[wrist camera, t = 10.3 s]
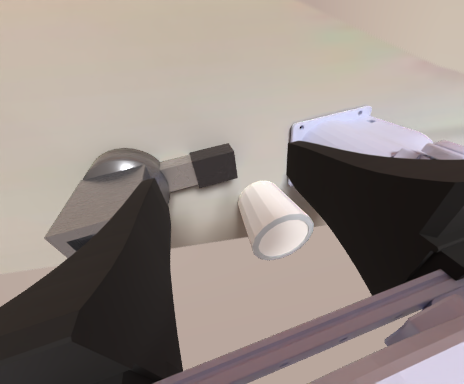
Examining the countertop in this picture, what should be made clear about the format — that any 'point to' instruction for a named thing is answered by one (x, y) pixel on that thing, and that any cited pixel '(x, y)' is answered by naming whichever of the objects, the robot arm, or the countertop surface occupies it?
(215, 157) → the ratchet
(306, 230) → the shot glass
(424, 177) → the robot arm
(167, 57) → the countertop surface
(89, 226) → the socket
